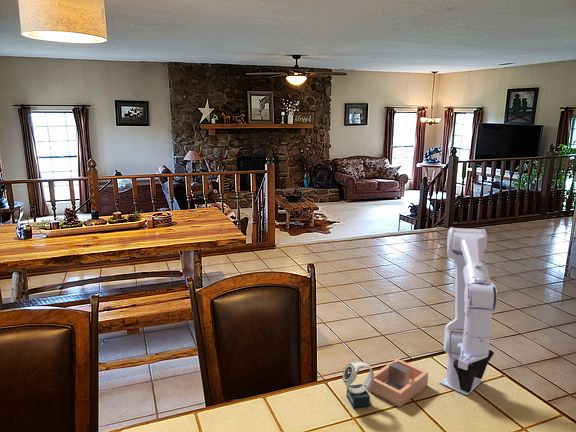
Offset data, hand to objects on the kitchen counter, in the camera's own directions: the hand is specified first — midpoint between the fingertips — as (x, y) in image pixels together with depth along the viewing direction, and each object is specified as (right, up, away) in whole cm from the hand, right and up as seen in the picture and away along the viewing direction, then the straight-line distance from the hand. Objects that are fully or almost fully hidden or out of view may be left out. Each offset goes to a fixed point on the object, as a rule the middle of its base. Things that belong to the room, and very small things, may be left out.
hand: (471, 383), depth 109 cm
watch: (-26, -8, +8) cm, 29 cm away
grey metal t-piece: (-14, -6, +14) cm, 21 cm away
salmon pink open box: (-14, -6, +14) cm, 21 cm away
